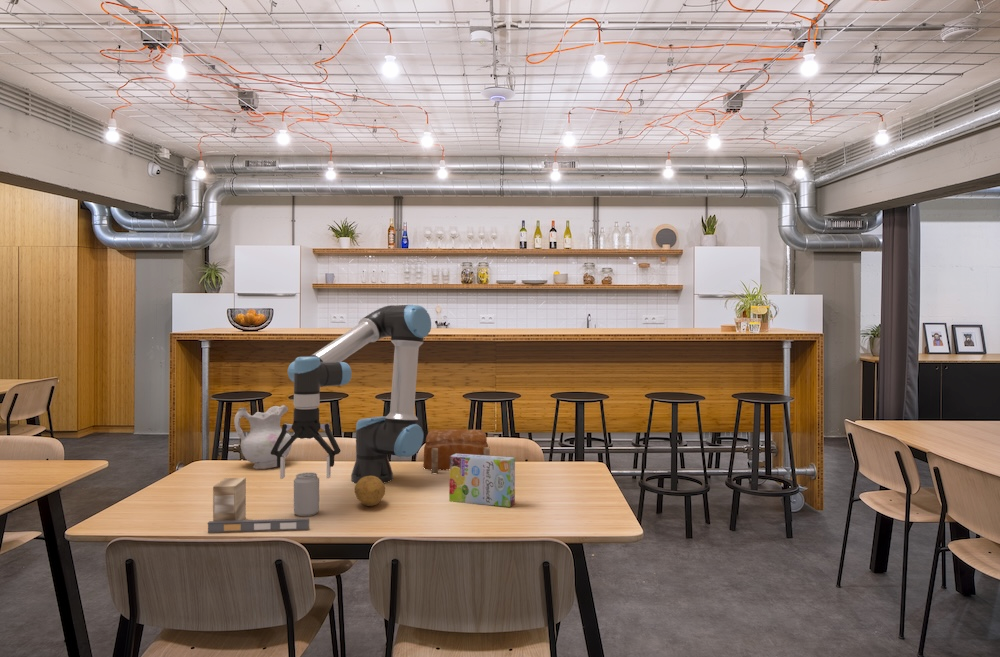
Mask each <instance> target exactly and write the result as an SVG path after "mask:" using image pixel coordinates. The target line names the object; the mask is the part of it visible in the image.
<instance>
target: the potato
mask: <svg viewBox="0 0 1000 657" xmlns="http://www.w3.org/2000/svg"><path fill="white" fill-rule="evenodd" d="M386 489H387V488H386V485H385V483H383V482H382V481H381V480H380V479H379V478H378V477H375V476H365V477H363V478H361V479H360V480H359V481H358V482H357V483H355V486H354V495H355V496H356V498H357V500H358V501H359V502H360V503H361V504H363V505H364V506H367V507H374V506H376V505H379V503H380V502H381V501H382V499H383V498H384V496H385V495H386Z"/></svg>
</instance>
